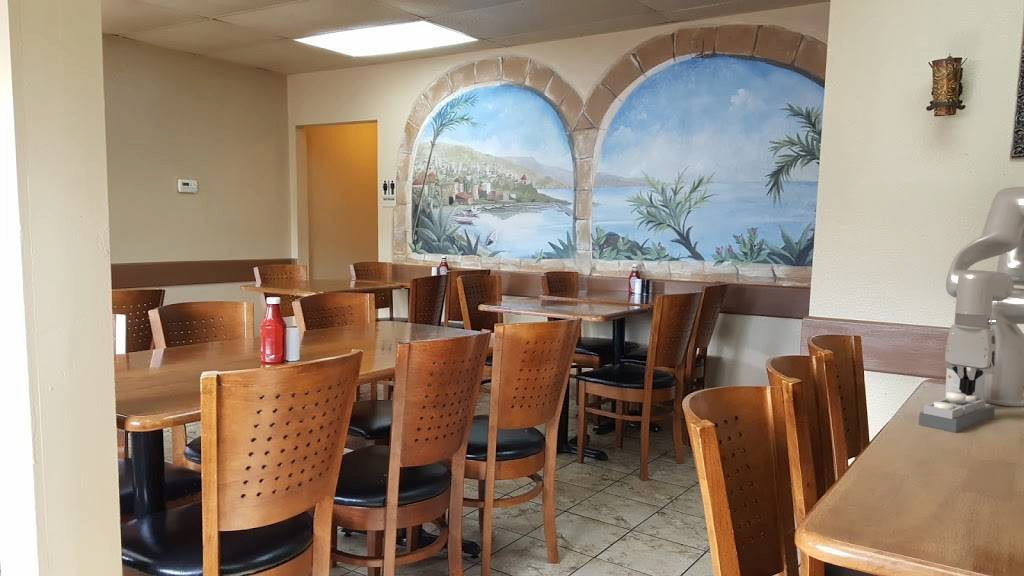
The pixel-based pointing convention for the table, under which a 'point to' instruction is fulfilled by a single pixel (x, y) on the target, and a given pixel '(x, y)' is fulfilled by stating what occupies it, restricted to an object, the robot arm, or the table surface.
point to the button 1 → (944, 405)
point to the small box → (954, 383)
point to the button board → (956, 415)
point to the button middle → (955, 397)
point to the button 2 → (971, 397)
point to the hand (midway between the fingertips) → (966, 394)
